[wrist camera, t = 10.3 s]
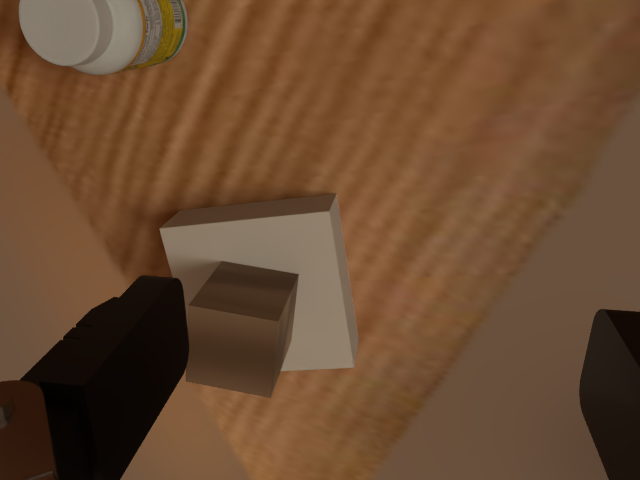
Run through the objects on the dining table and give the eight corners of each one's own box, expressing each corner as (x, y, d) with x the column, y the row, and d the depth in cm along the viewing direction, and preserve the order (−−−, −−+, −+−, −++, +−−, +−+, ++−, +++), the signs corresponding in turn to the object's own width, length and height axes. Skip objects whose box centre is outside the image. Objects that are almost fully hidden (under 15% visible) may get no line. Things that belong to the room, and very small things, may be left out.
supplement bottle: (204, 2, 34) (132, -1, 25) (168, 81, 36) (90, 104, 27) (125, -48, 34) (24, -69, 25) (94, 34, 36) (-10, 42, 27)
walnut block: (222, 260, 36) (188, 305, 31) (298, 274, 36) (278, 321, 30) (218, 328, 38) (185, 381, 33) (291, 341, 38) (270, 397, 32)
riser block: (182, 208, 40) (159, 228, 36) (337, 191, 38) (329, 211, 34) (216, 344, 44) (198, 374, 40) (359, 335, 42) (354, 367, 38)
